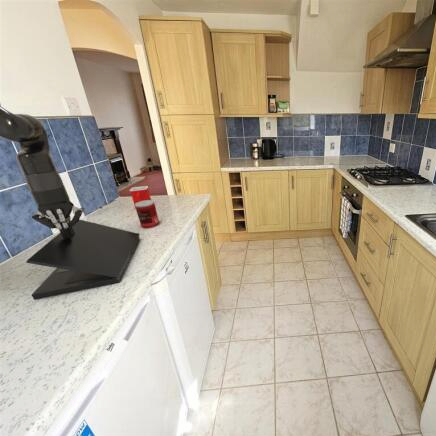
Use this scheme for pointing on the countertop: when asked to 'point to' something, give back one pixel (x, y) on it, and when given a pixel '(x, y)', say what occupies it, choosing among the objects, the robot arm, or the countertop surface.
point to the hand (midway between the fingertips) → (69, 238)
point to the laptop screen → (88, 250)
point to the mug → (140, 194)
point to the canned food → (147, 213)
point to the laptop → (76, 280)
